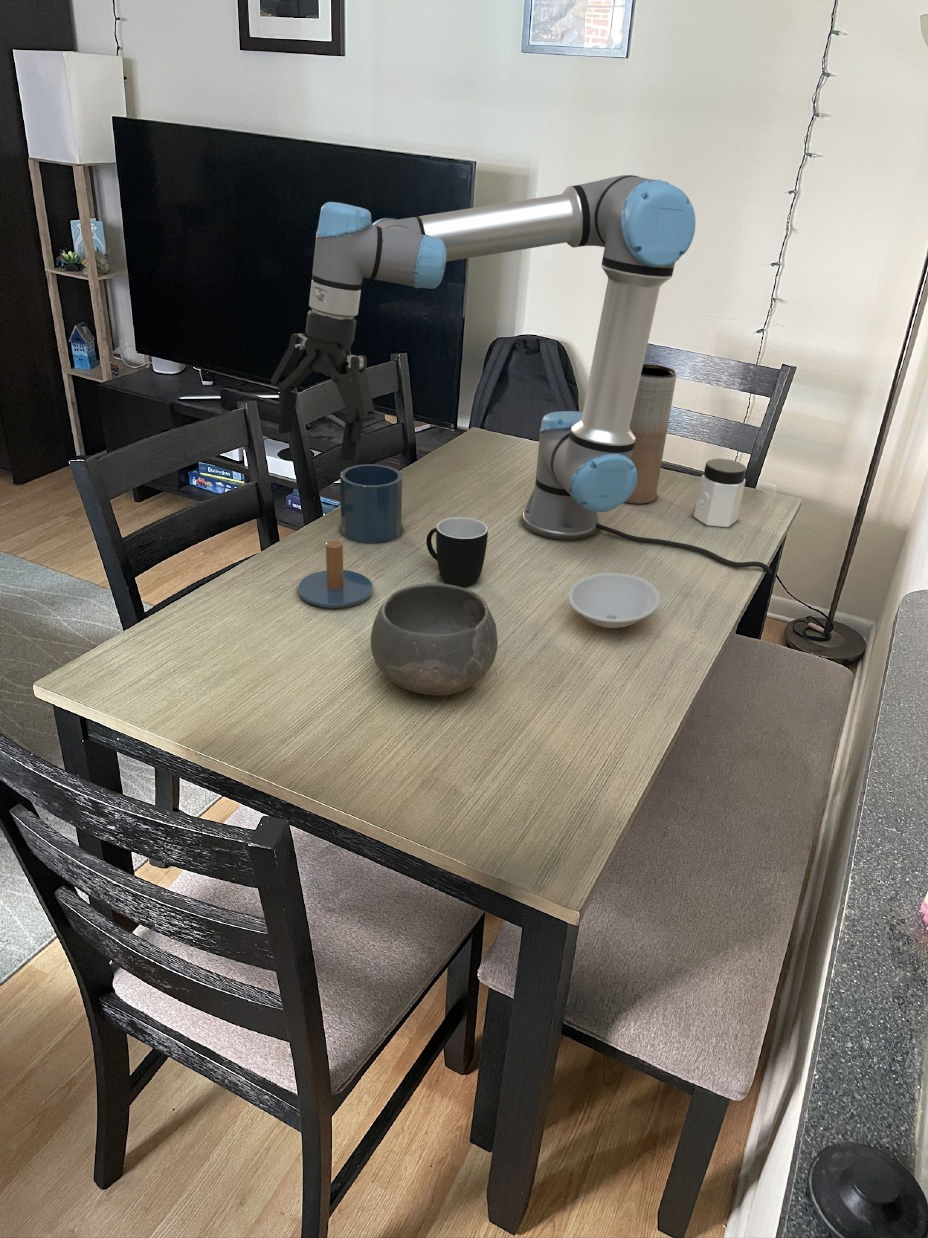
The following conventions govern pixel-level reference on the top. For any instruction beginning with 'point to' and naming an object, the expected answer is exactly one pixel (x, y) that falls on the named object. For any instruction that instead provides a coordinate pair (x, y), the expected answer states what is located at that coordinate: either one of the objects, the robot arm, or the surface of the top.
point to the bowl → (434, 638)
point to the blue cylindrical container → (371, 503)
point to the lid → (334, 582)
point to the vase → (650, 428)
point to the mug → (459, 549)
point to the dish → (614, 599)
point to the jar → (720, 492)
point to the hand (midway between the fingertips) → (315, 445)
